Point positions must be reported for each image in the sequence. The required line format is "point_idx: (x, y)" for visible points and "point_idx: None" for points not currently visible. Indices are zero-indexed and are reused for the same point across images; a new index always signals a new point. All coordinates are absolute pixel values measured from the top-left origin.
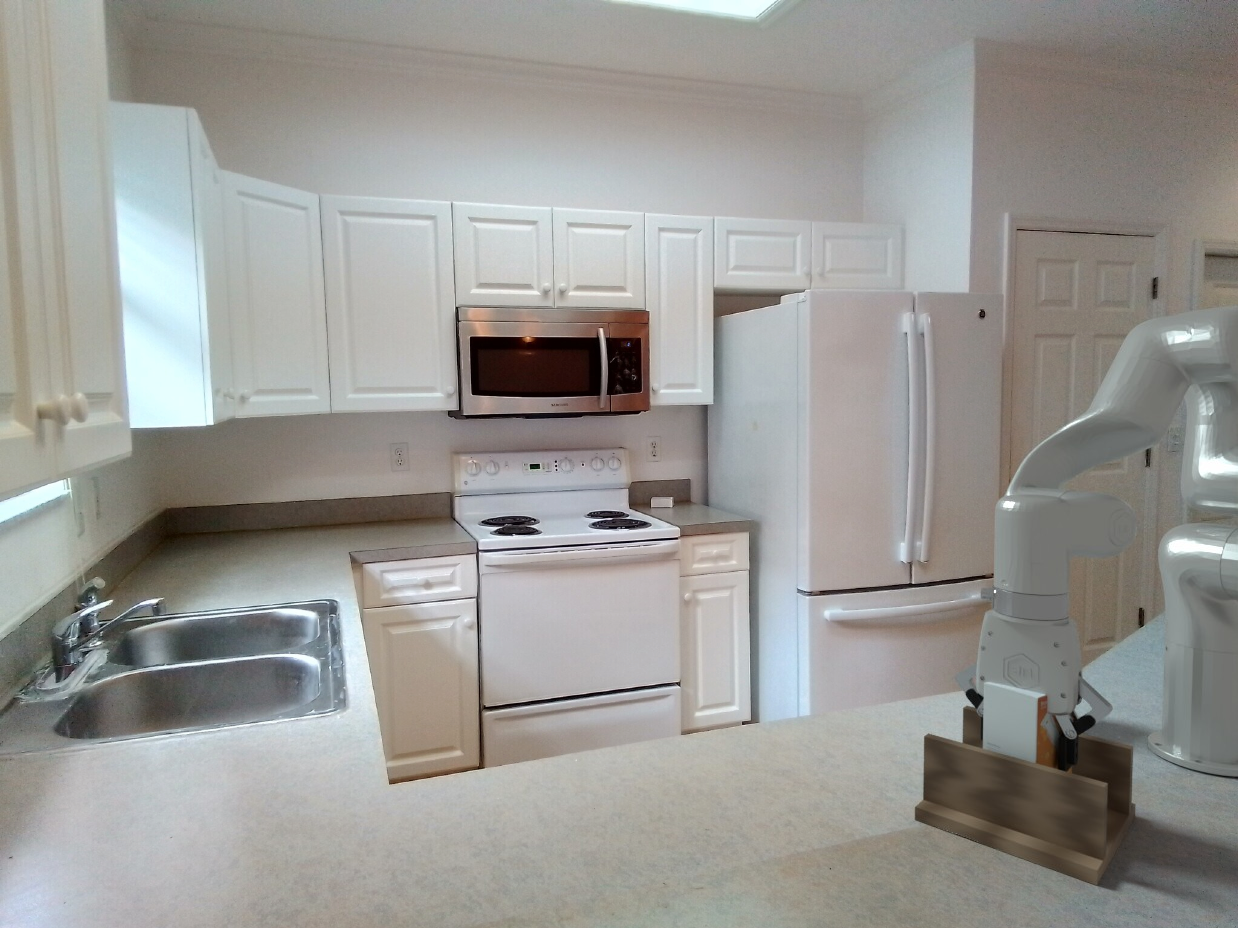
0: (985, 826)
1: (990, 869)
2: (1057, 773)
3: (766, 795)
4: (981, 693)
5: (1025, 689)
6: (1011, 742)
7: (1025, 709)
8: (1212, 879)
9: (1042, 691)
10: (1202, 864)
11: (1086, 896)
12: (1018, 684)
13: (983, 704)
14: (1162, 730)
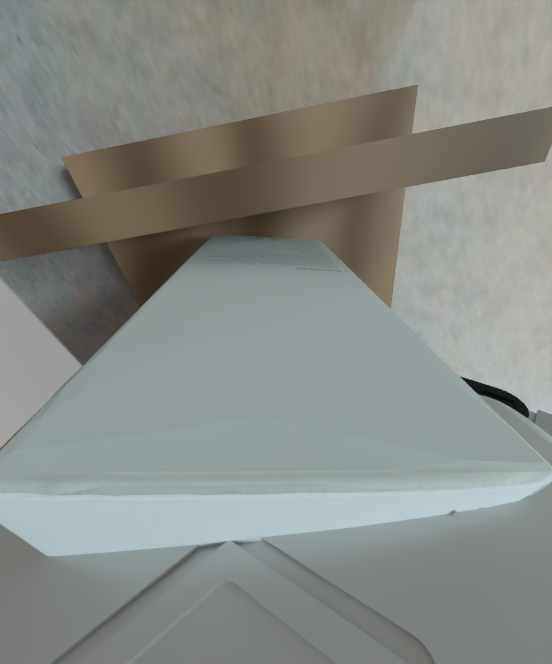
0: (270, 142)
1: (200, 8)
2: (61, 206)
3: None
4: (480, 395)
5: (197, 546)
6: (260, 277)
7: (162, 368)
8: (55, 319)
9: (54, 583)
10: (86, 342)
11: (55, 95)
12: (249, 588)
13: None
14: None
